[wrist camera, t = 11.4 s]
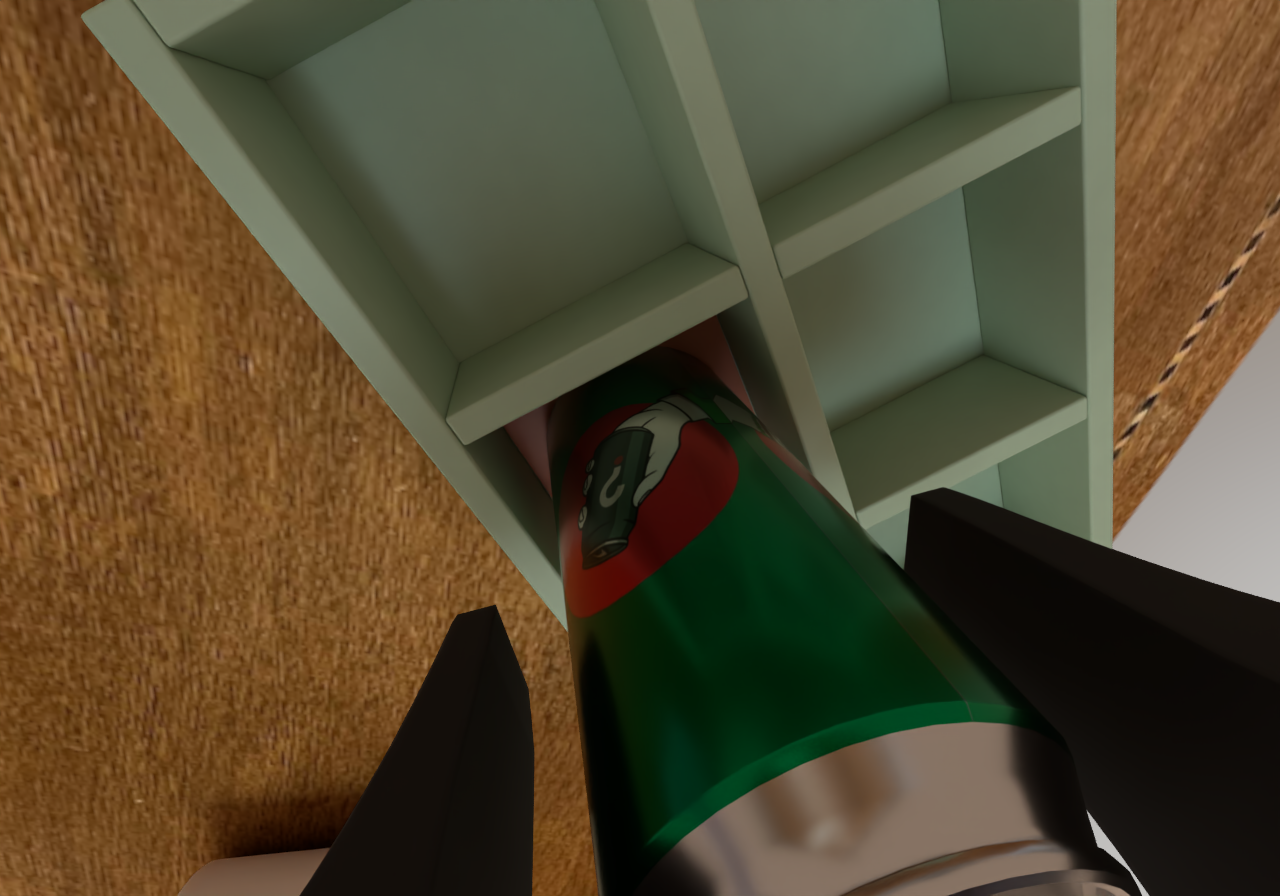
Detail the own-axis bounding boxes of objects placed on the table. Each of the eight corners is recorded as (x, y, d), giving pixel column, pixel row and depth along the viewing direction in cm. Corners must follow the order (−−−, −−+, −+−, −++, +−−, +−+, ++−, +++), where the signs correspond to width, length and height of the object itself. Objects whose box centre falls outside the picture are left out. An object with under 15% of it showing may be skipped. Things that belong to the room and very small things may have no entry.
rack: (662, 682, 21) (693, 792, 18) (226, 65, 11) (73, 13, 7) (1006, 510, 21) (1113, 586, 17) (903, -313, 10) (1124, -583, 7)
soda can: (530, 497, 15) (565, 1198, 5) (565, 320, 13) (747, 879, 3) (697, 514, 17) (995, 1087, 6) (750, 357, 15) (1315, 820, 4)
